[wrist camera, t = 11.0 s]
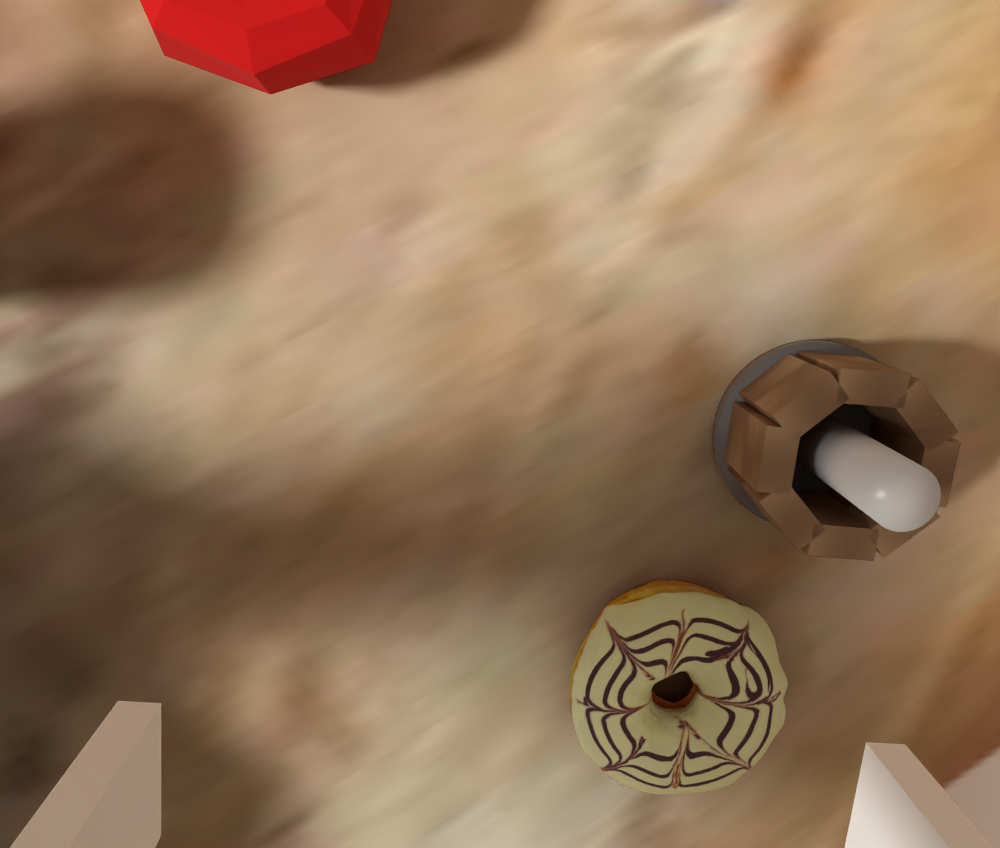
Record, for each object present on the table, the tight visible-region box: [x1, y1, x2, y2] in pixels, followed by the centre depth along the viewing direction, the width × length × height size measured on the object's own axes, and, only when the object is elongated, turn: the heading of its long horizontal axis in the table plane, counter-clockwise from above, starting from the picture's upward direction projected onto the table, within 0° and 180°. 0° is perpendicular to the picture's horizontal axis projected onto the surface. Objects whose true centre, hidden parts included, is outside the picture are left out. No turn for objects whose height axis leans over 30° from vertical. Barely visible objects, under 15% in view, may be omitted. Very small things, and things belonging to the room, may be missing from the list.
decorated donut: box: [570, 580, 788, 795], centre depth 42 cm, size 10×11×4 cm
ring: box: [724, 351, 961, 561], centre depth 37 cm, size 8×8×5 cm
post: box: [712, 340, 941, 532], centre depth 36 cm, size 9×9×10 cm
